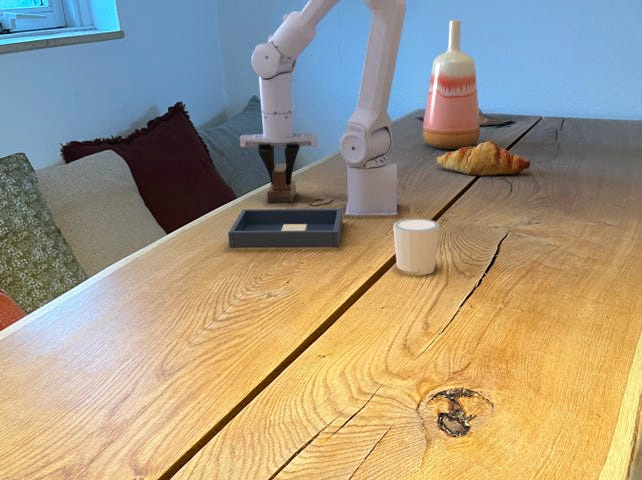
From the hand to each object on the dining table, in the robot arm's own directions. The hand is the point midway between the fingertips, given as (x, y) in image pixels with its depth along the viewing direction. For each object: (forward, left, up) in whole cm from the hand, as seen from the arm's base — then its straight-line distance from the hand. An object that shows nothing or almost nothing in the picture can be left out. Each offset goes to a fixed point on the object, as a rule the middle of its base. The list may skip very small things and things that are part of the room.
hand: (281, 183), depth 156 cm
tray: (-4, +25, -3) cm, 26 cm away
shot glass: (-25, +41, -3) cm, 48 cm away
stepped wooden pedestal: (0, 0, -3) cm, 3 cm away
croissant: (-42, -23, -3) cm, 48 cm away
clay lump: (-5, +25, -3) cm, 26 cm away
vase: (-37, -51, -3) cm, 63 cm away
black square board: (-35, -71, -2) cm, 79 cm away
